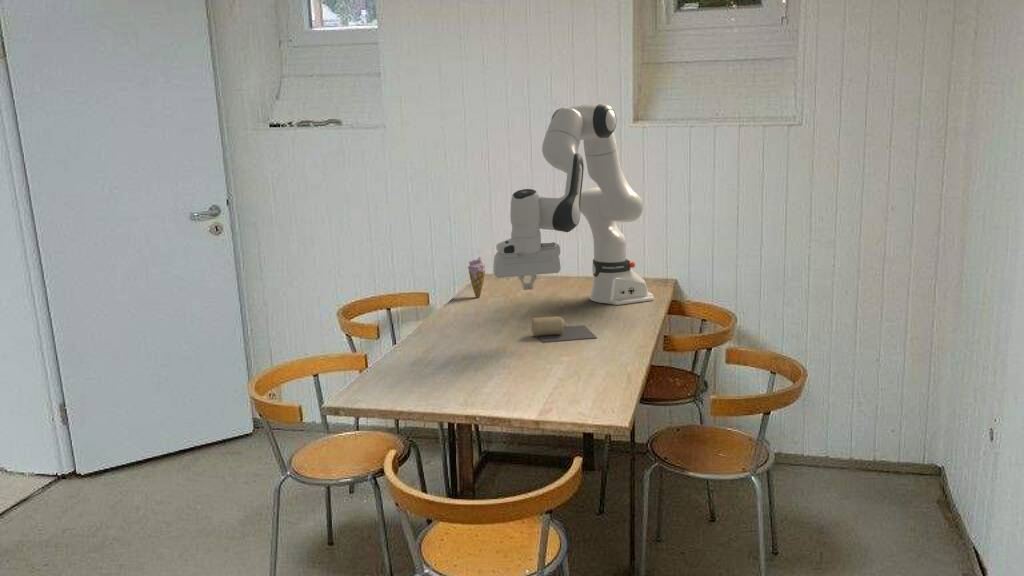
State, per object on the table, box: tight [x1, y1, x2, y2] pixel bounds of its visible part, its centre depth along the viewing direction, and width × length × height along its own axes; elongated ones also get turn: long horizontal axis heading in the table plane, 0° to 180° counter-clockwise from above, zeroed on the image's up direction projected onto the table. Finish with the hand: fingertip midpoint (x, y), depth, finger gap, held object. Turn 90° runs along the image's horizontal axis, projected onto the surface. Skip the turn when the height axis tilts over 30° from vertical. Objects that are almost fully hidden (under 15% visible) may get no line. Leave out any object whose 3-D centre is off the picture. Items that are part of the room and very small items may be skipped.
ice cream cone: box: [467, 256, 486, 299], centre depth 326 cm, size 7×6×15 cm
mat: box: [536, 324, 598, 344], centre depth 280 cm, size 17×14×1 cm
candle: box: [531, 316, 567, 337], centre depth 278 cm, size 6×6×10 cm
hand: (527, 289), depth 275 cm, fingers closed
